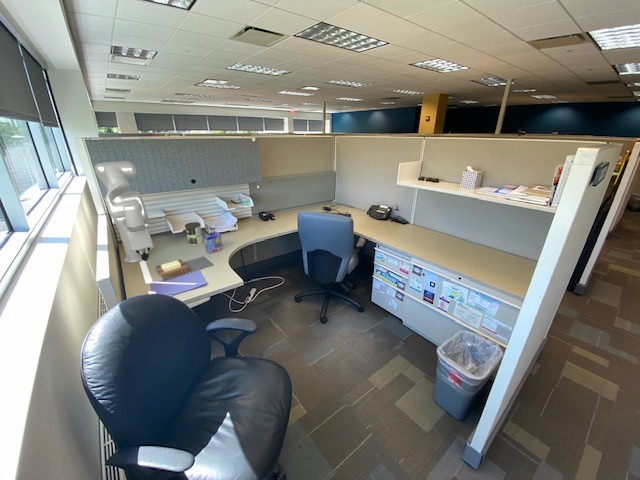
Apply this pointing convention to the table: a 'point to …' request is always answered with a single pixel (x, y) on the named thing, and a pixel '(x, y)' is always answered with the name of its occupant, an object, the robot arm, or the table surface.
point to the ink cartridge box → (213, 242)
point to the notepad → (170, 266)
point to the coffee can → (194, 233)
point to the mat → (198, 264)
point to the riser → (173, 271)
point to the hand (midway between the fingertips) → (145, 260)
